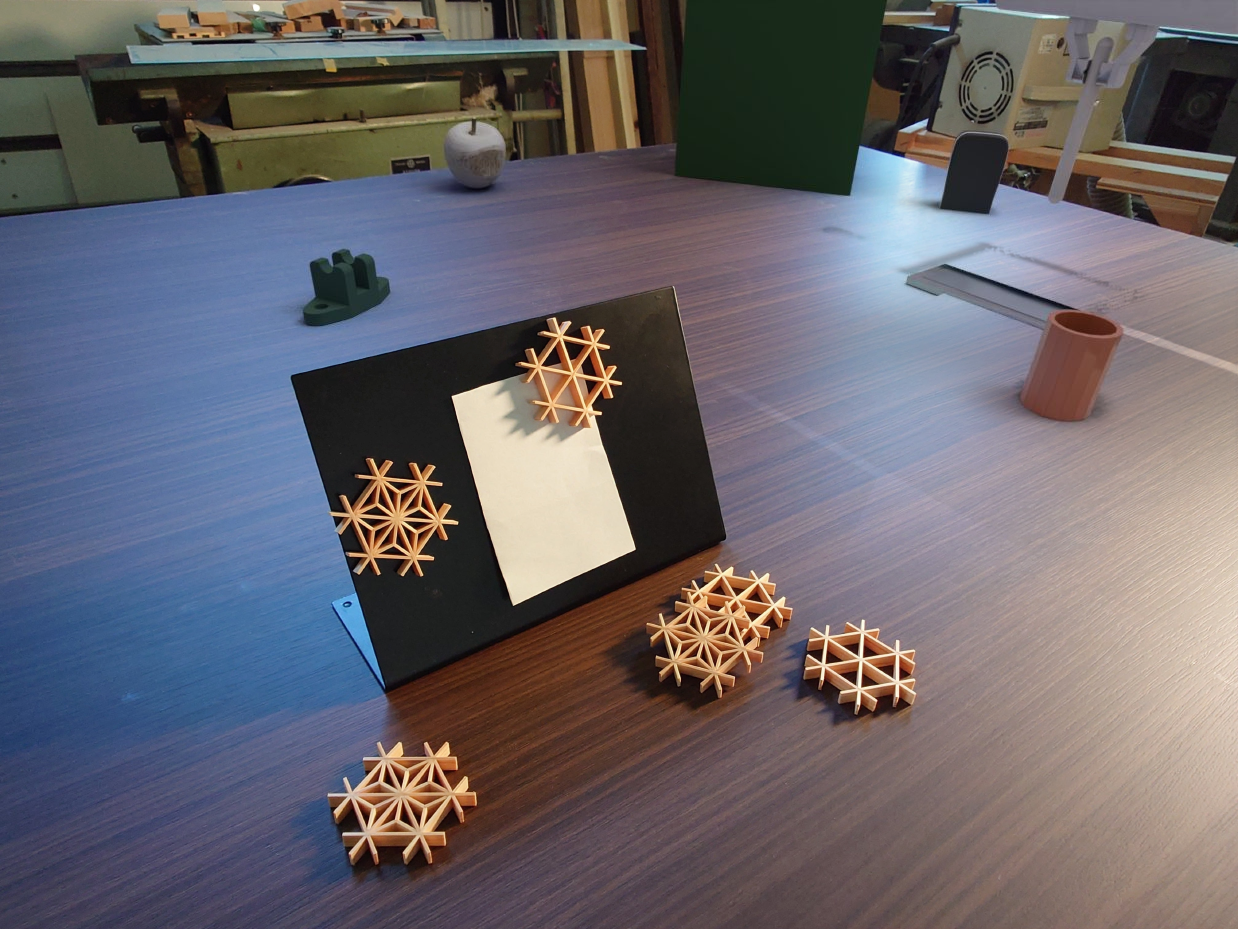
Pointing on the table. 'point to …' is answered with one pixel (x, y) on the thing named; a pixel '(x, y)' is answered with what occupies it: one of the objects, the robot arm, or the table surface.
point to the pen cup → (1070, 364)
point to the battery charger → (974, 171)
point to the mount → (343, 288)
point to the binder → (776, 91)
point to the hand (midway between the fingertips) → (1092, 84)
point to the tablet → (987, 294)
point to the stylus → (1080, 121)
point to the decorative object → (475, 153)
